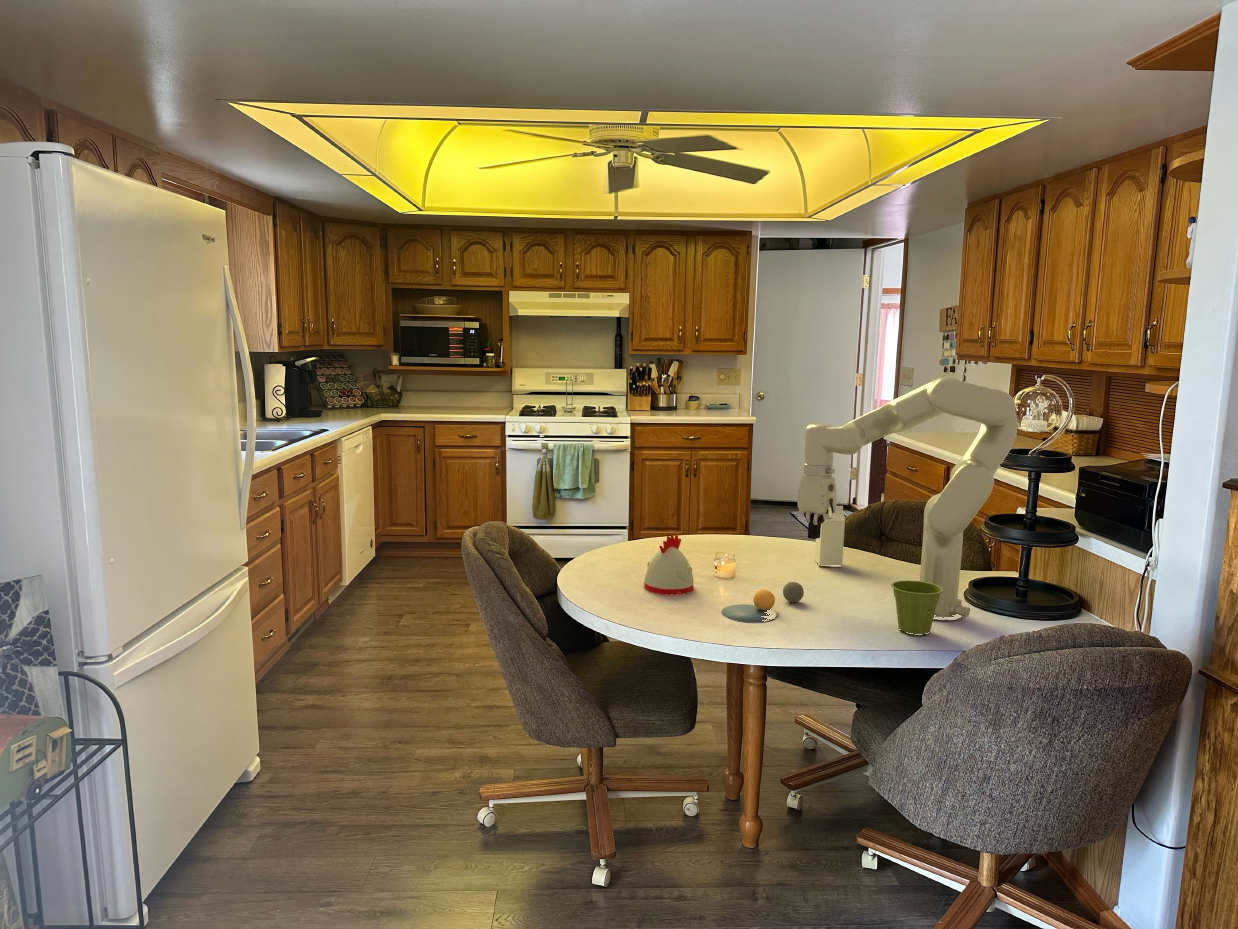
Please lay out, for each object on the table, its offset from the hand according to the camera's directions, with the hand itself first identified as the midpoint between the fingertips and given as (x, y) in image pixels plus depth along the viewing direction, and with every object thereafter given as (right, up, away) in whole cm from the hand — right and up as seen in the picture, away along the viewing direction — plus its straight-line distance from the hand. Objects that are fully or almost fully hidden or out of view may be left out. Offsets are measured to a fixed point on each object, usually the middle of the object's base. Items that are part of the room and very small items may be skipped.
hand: (813, 538), depth 224 cm
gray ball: (-6, -14, -1) cm, 16 cm away
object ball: (-15, -15, -8) cm, 23 cm away
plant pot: (+19, -21, -21) cm, 36 cm away
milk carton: (+14, -12, +39) cm, 43 cm away
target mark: (-19, -18, -11) cm, 29 cm away
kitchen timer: (-38, -15, +11) cm, 43 cm away
